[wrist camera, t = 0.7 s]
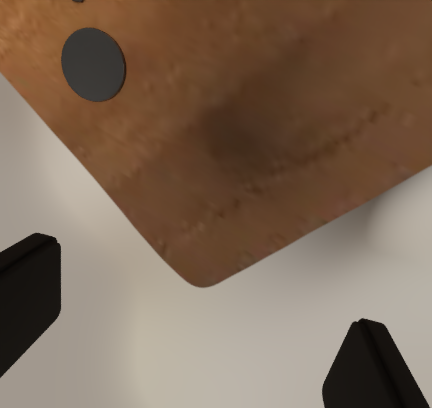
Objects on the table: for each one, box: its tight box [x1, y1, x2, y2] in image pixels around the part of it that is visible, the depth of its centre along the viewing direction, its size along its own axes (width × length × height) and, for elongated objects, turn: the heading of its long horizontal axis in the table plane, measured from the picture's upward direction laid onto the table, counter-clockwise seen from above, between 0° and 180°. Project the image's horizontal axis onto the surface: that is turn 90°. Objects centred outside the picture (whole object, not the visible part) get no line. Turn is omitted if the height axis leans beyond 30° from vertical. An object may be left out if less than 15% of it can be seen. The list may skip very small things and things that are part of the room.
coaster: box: [61, 28, 126, 102], centre depth 34 cm, size 8×8×1 cm
